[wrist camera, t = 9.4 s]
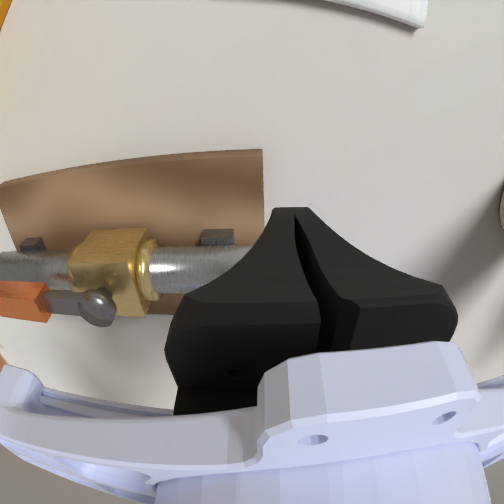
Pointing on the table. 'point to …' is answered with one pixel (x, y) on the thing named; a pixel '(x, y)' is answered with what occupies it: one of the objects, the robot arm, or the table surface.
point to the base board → (141, 202)
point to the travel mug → (502, 211)
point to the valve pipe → (125, 265)
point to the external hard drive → (393, 9)
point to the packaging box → (3, 10)
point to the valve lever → (55, 303)
